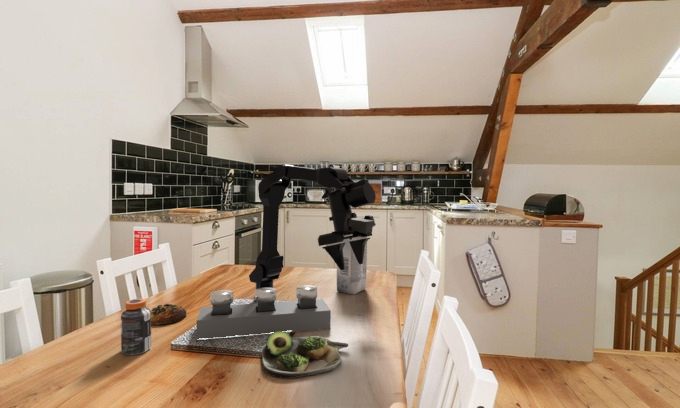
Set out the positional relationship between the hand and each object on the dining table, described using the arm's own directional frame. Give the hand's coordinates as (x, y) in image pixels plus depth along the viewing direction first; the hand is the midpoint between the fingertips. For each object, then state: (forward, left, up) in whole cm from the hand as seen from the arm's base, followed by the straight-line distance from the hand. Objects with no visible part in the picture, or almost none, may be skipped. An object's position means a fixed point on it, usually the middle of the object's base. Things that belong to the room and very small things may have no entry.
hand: (352, 266), depth 100 cm
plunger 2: (-1, -12, -12) cm, 18 cm away
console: (-1, -23, -15) cm, 28 cm away
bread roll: (-14, -50, -16) cm, 55 cm away
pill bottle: (+6, -52, -16) cm, 55 cm away
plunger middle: (-1, -23, -12) cm, 26 cm away
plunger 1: (-1, -34, -12) cm, 37 cm away
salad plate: (+18, -17, -16) cm, 29 cm away
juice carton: (-29, +9, -16) cm, 34 cm away
